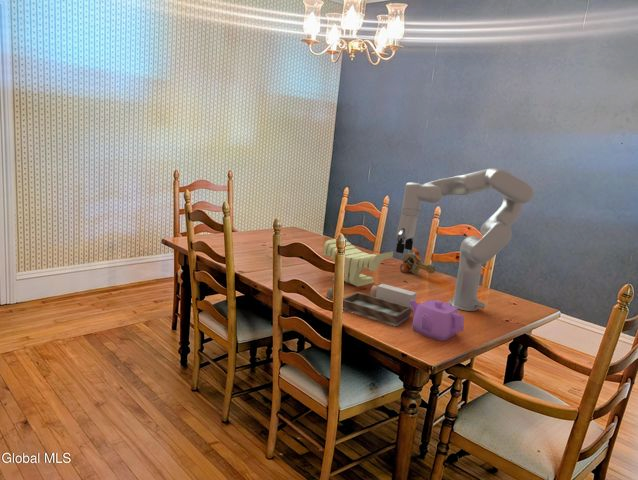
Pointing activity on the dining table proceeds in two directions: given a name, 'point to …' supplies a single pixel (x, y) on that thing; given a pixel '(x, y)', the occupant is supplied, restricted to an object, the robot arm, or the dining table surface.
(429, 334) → the teakettle
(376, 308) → the wooden tray
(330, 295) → the chocolate bunny
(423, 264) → the toy helicopter
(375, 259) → the slatted curved stool
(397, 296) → the pale grey block
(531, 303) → the dining table surface
